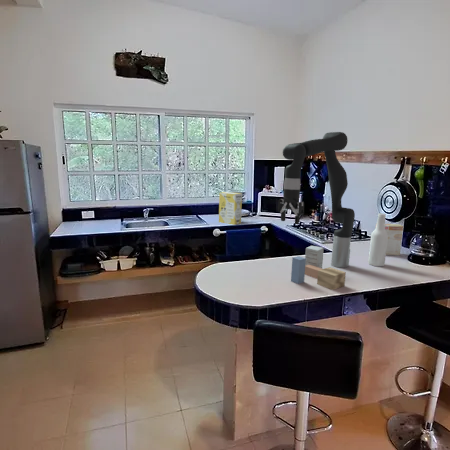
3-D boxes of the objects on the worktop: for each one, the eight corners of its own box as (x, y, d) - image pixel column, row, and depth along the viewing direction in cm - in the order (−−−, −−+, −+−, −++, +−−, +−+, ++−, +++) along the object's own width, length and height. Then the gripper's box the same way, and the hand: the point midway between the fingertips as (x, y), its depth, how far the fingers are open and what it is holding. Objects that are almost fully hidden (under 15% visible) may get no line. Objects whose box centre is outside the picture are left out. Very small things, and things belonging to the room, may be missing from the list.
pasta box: (241, 223, 312) (242, 193, 306) (234, 224, 303) (235, 194, 298) (225, 220, 322) (226, 191, 317) (218, 222, 314) (219, 192, 309)
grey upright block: (309, 267, 186) (311, 245, 184) (322, 270, 182) (324, 247, 179) (303, 270, 181) (305, 247, 178) (316, 273, 176) (318, 250, 174)
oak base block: (328, 280, 166) (329, 267, 165) (344, 286, 159) (345, 272, 158) (317, 284, 161) (318, 270, 159) (333, 290, 154) (334, 275, 152)
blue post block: (296, 279, 166) (298, 256, 164) (304, 282, 163) (305, 258, 161) (290, 281, 164) (292, 257, 161) (298, 283, 160) (299, 259, 158)
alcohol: (375, 261, 200) (381, 212, 194) (387, 266, 192) (394, 214, 186) (364, 263, 197) (370, 212, 191) (376, 267, 189) (382, 215, 183)
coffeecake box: (395, 252, 222) (399, 224, 218) (400, 255, 215) (404, 226, 211) (372, 251, 223) (375, 223, 219) (376, 254, 216) (379, 225, 212)
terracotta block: (303, 274, 175) (304, 265, 174) (309, 272, 178) (309, 264, 177) (319, 279, 167) (319, 271, 166) (324, 278, 170) (325, 269, 169)
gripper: (309, 189, 152) (306, 224, 155) (285, 186, 163) (284, 219, 166) (298, 189, 147) (296, 225, 151) (275, 187, 158) (273, 220, 162)
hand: (289, 222), depth 158 cm, fingers open, 8 cm apart
